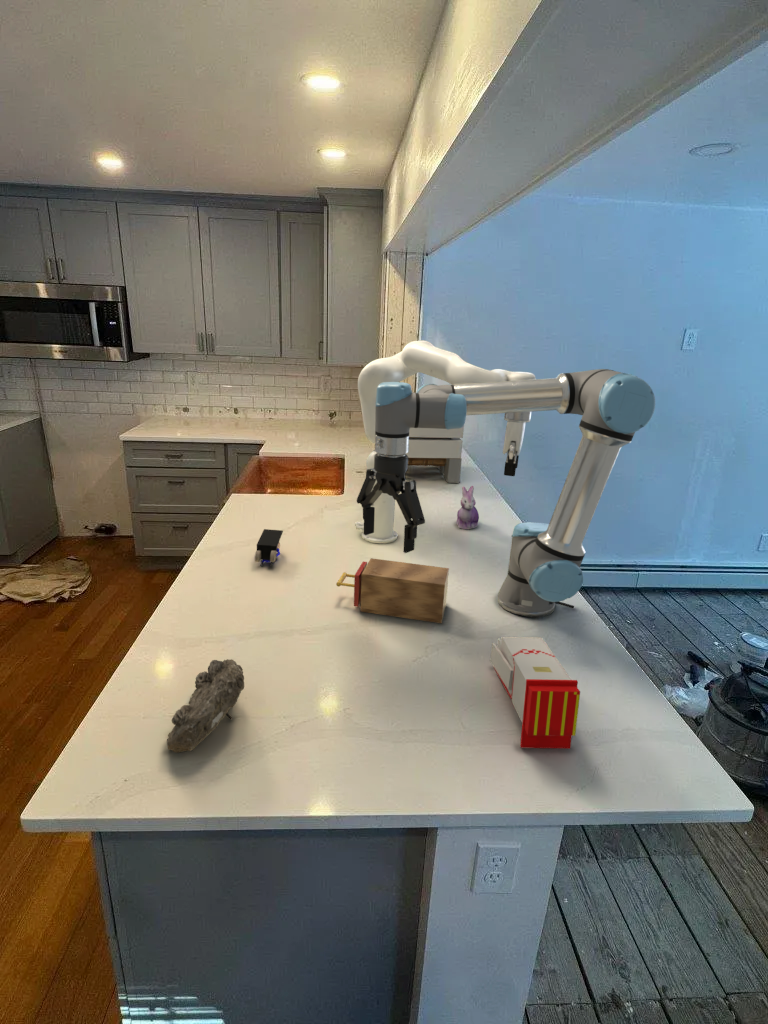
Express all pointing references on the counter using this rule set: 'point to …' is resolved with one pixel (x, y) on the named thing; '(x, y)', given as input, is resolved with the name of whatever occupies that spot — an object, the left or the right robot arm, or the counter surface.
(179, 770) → the counter surface
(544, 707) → the toy
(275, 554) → the figurine character
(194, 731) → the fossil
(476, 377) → the left robot arm
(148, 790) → the counter surface
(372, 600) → the cabinet
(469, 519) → the figurine
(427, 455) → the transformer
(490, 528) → the counter surface
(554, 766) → the counter surface
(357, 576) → the drawer
